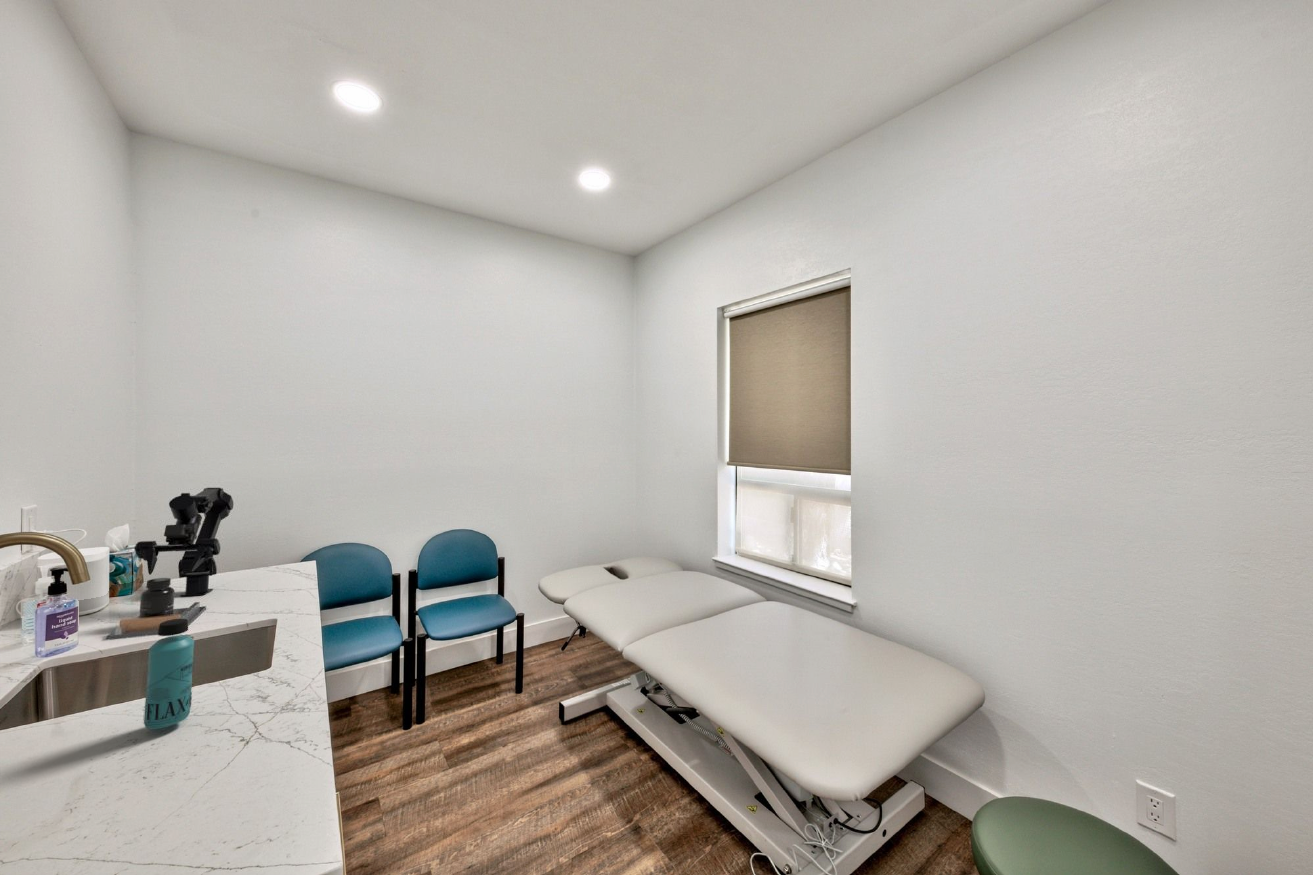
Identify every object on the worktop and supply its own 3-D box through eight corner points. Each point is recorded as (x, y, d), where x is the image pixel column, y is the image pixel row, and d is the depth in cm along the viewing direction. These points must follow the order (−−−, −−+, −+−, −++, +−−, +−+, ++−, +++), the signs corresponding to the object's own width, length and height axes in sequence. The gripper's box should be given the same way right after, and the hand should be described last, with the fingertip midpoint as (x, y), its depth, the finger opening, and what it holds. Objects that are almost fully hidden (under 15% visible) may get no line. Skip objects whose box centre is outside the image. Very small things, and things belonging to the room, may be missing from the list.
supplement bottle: (176, 621, 142) (178, 579, 142) (142, 628, 136) (144, 584, 136) (169, 616, 145) (171, 575, 146) (136, 622, 140) (138, 579, 140)
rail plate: (140, 615, 148) (140, 601, 148) (205, 609, 155) (206, 596, 155) (106, 639, 130) (107, 624, 130) (182, 631, 137) (183, 617, 137)
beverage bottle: (135, 741, 89) (141, 629, 89) (151, 722, 95) (157, 617, 95) (183, 732, 92) (189, 624, 92) (196, 714, 98) (202, 613, 98)
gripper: (138, 514, 148) (118, 560, 138) (219, 512, 157) (206, 555, 147) (148, 536, 155) (130, 580, 145) (225, 533, 164) (213, 575, 154)
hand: (170, 572), depth 148 cm, fingers open, 9 cm apart
